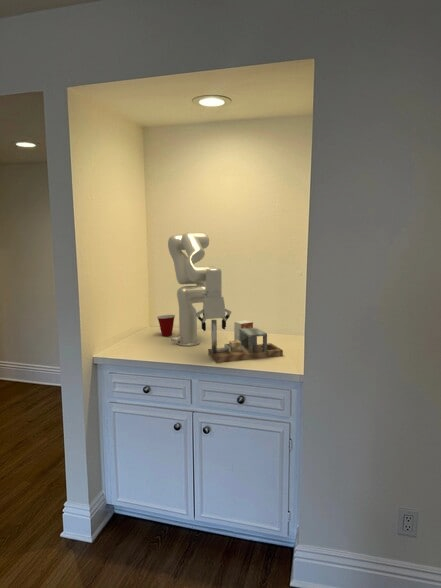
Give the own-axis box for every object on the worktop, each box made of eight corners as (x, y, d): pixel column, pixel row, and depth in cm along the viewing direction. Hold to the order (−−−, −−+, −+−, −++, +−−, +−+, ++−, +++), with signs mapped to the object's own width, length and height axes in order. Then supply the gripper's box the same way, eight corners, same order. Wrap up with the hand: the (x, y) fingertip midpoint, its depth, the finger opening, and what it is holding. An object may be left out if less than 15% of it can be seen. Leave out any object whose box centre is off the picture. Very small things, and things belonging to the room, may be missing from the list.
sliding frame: (214, 354, 202) (213, 321, 200) (209, 350, 209) (209, 318, 207) (243, 351, 207) (243, 319, 204) (238, 347, 214) (238, 316, 211)
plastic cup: (164, 332, 261) (164, 313, 259) (179, 334, 255) (178, 314, 254) (153, 336, 252) (152, 316, 250) (168, 338, 246) (167, 318, 244)
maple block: (232, 352, 207) (232, 343, 206) (229, 349, 211) (229, 340, 210) (241, 351, 208) (241, 342, 207) (237, 349, 212) (237, 340, 211)
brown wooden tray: (216, 363, 200) (216, 338, 198) (208, 354, 213) (207, 331, 211) (282, 356, 210) (283, 332, 208) (270, 348, 223) (271, 326, 221)
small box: (240, 347, 225) (240, 323, 223) (234, 345, 231) (233, 321, 229) (253, 345, 230) (253, 321, 228) (246, 343, 235) (246, 319, 233)
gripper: (197, 296, 196) (198, 332, 198) (233, 294, 201) (233, 329, 204) (193, 293, 203) (194, 329, 205) (228, 292, 208) (228, 326, 211)
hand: (213, 329), depth 205 cm, fingers open, 9 cm apart
